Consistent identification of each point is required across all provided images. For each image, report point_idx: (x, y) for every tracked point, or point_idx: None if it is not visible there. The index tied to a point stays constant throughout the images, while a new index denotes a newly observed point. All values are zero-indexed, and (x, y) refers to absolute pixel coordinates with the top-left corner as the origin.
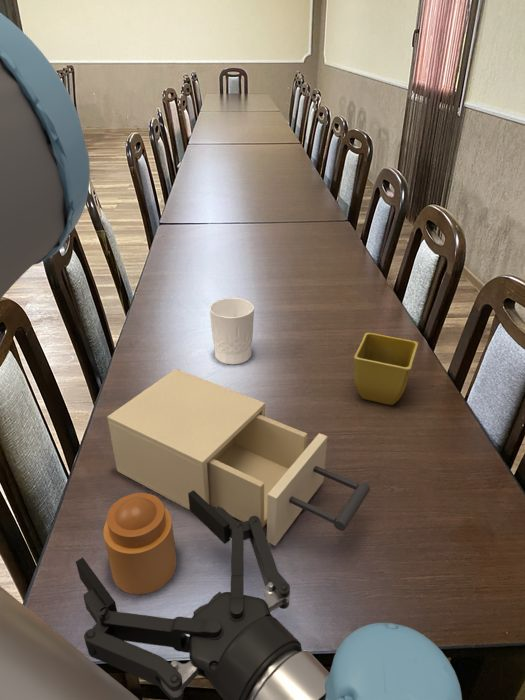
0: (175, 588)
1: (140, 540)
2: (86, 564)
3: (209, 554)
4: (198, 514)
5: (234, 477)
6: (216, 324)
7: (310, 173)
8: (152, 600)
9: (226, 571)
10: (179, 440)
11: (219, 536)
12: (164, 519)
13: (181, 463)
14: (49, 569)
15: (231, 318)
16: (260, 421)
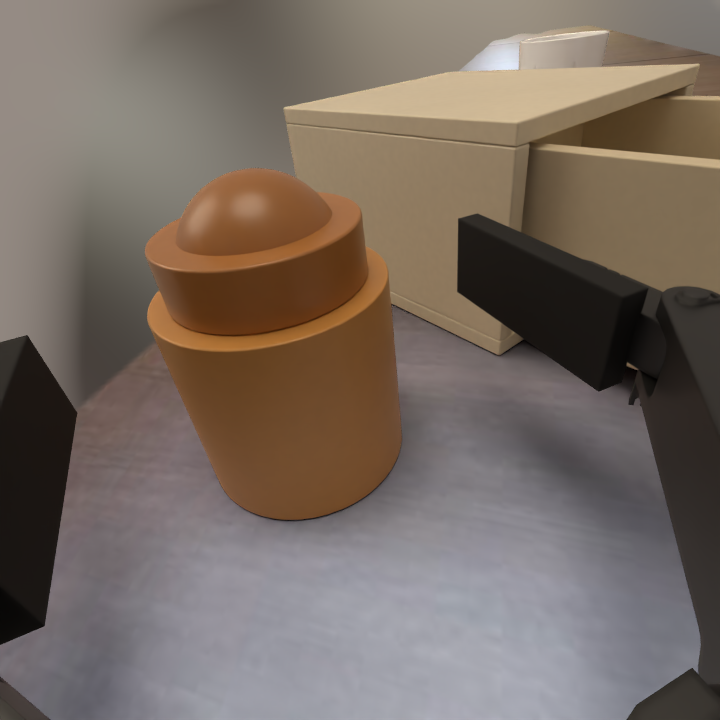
0: (384, 524)
1: (237, 298)
2: (14, 356)
3: (507, 441)
4: (487, 292)
5: (636, 176)
6: (530, 65)
7: (641, 39)
8: (301, 547)
9: (571, 504)
10: (444, 109)
11: (574, 359)
12: (355, 253)
13: (444, 169)
14: (95, 408)
15: (564, 40)
16: (684, 108)
